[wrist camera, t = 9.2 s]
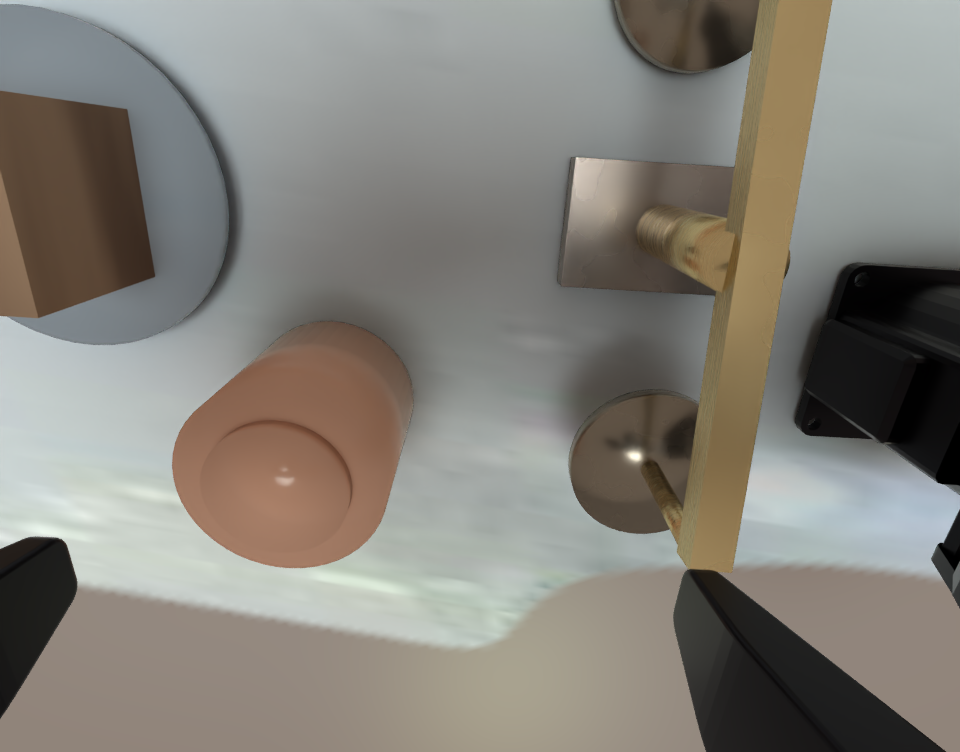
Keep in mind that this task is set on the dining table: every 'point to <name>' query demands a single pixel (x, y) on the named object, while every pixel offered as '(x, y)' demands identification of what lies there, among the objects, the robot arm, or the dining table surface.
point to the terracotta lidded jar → (298, 447)
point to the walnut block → (67, 205)
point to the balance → (696, 270)
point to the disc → (160, 163)
